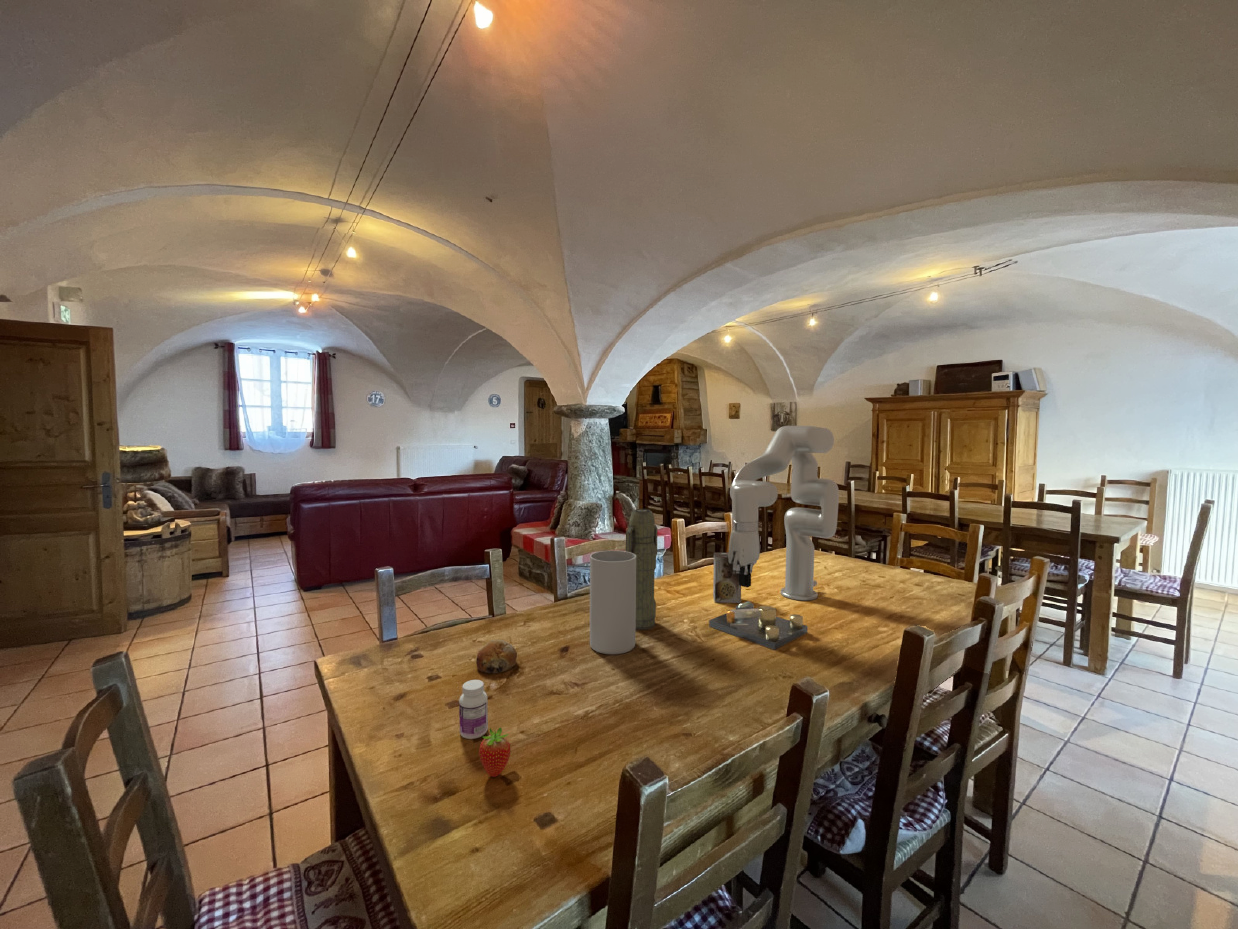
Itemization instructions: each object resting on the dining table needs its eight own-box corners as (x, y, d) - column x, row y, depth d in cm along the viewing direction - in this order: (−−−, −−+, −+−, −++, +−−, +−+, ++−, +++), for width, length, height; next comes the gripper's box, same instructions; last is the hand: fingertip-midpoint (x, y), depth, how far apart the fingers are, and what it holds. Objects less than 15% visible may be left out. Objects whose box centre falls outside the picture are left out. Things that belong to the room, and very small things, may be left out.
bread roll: (520, 676, 131) (527, 643, 134) (500, 676, 122) (508, 641, 125) (487, 670, 134) (494, 638, 137) (465, 669, 125) (473, 635, 128)
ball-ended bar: (771, 622, 154) (771, 605, 154) (778, 628, 149) (779, 611, 149) (723, 624, 152) (724, 607, 152) (729, 630, 147) (730, 613, 147)
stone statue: (664, 622, 159) (665, 509, 156) (640, 633, 150) (641, 514, 148) (641, 615, 165) (643, 506, 162) (617, 625, 156) (618, 510, 153)
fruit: (473, 780, 87) (472, 734, 87) (491, 761, 92) (490, 718, 92) (500, 788, 85) (499, 741, 85) (517, 769, 90) (516, 725, 90)
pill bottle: (462, 724, 104) (462, 678, 103) (489, 723, 104) (489, 677, 103) (456, 740, 98) (455, 691, 98) (485, 739, 99) (484, 690, 98)
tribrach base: (743, 612, 168) (743, 597, 167) (807, 632, 152) (807, 616, 151) (709, 626, 156) (709, 610, 155) (774, 650, 140) (774, 632, 139)
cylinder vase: (642, 641, 145) (643, 553, 143) (623, 659, 133) (624, 564, 131) (602, 633, 150) (602, 548, 148) (581, 650, 138) (581, 558, 137)
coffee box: (738, 597, 183) (739, 552, 182) (741, 603, 176) (742, 557, 175) (712, 596, 184) (713, 551, 182) (714, 602, 177) (715, 556, 176)
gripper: (748, 520, 161) (748, 577, 163) (719, 528, 151) (719, 589, 153) (770, 523, 155) (769, 582, 157) (741, 532, 145) (741, 595, 147)
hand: (745, 585), depth 155 cm, fingers closed
